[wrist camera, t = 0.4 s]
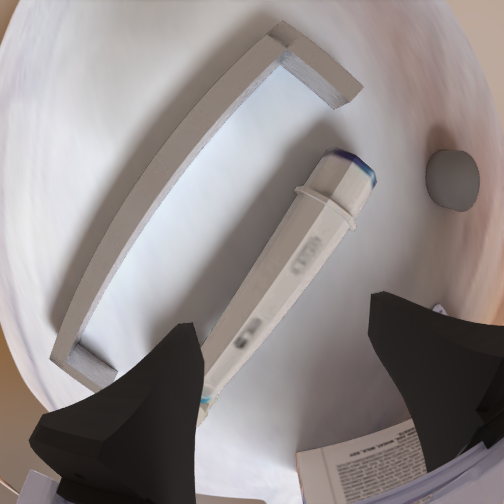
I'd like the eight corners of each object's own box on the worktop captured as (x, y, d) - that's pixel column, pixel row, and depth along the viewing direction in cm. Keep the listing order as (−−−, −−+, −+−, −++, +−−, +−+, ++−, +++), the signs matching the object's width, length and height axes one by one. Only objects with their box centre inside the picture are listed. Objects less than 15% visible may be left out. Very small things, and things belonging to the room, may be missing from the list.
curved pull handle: (346, 96, 16) (363, 86, 14) (112, 379, 24) (103, 398, 21) (276, 38, 15) (282, 20, 12) (62, 342, 22) (49, 359, 19)
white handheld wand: (396, 189, 15) (196, 454, 18) (350, 189, 22) (197, 405, 24) (335, 134, 14) (137, 431, 17) (301, 151, 21) (151, 383, 23)
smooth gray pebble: (468, 179, 19) (486, 183, 16) (443, 217, 20) (460, 224, 18) (443, 138, 18) (461, 138, 15) (415, 176, 19) (433, 180, 16)
